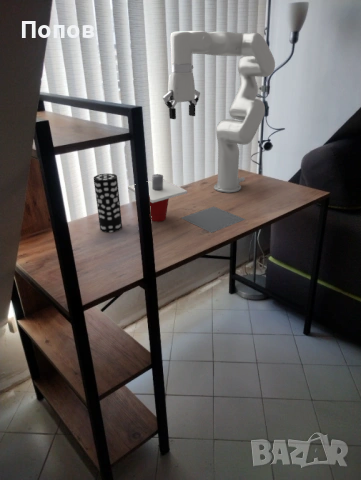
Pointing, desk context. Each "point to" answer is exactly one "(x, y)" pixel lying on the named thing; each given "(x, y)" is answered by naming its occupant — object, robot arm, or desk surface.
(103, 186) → the white-spotted black cylinder
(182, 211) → the desk surface
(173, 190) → the lid
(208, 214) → the mat
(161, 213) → the plastic cup
